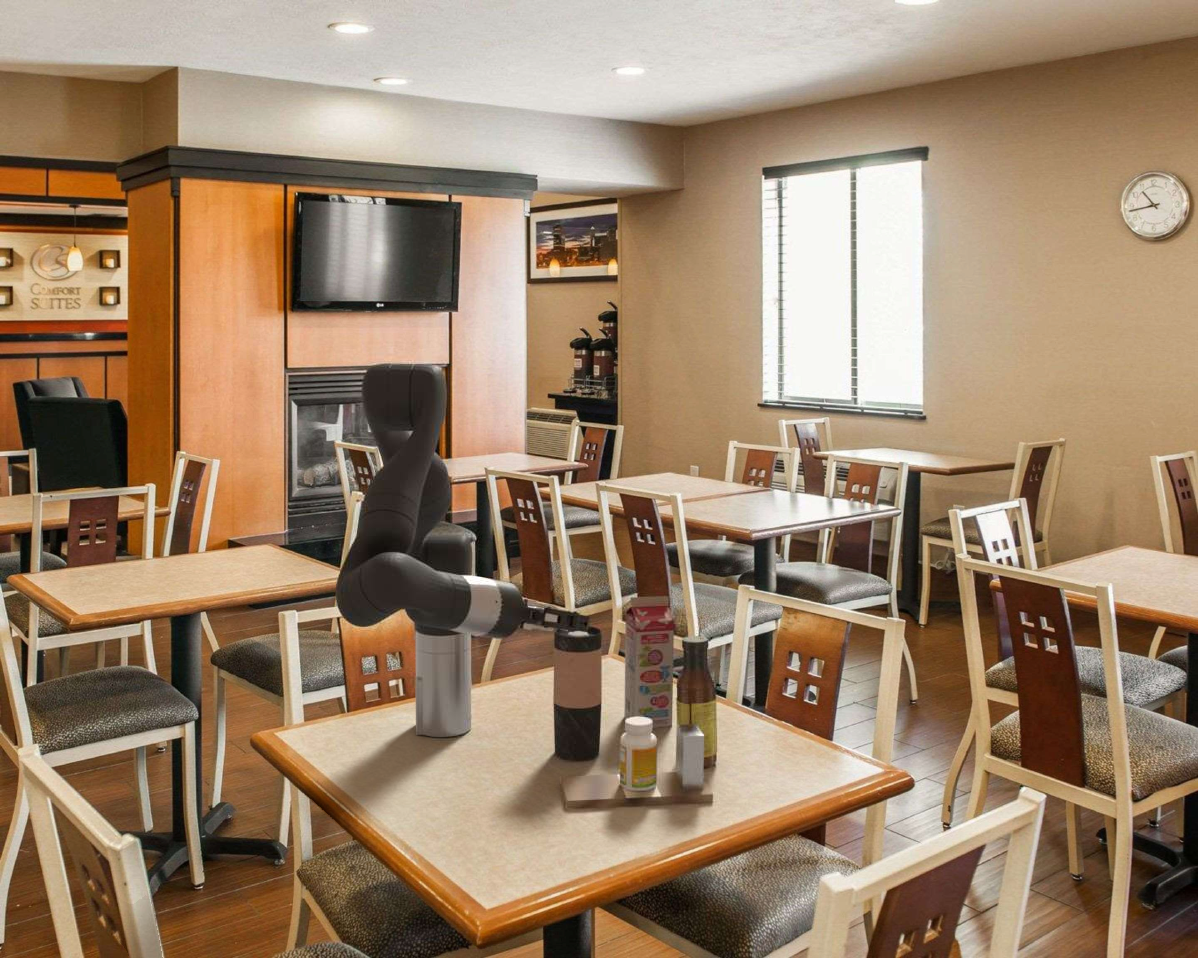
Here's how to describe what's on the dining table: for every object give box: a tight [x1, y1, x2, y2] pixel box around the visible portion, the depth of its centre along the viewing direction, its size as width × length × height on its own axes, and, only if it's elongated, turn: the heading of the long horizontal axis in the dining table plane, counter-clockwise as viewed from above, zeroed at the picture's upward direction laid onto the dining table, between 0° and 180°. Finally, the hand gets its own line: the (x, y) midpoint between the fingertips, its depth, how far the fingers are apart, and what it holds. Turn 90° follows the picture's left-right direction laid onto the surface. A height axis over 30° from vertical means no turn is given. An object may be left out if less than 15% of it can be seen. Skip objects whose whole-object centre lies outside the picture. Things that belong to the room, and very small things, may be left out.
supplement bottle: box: [619, 717, 658, 791], centre depth 167 cm, size 5×5×10 cm
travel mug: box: [552, 625, 603, 762], centre depth 183 cm, size 8×8×20 cm
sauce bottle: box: [675, 635, 718, 769], centre depth 179 cm, size 6×6×20 cm
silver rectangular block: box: [675, 724, 704, 790], centre depth 168 cm, size 3×5×8 cm, turn 8°
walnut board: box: [559, 771, 714, 810], centre depth 168 cm, size 21×9×1 cm, turn 98°
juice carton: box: [623, 595, 675, 729], centre depth 198 cm, size 7×7×22 cm
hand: (565, 620), depth 161 cm, fingers open, 8 cm apart
